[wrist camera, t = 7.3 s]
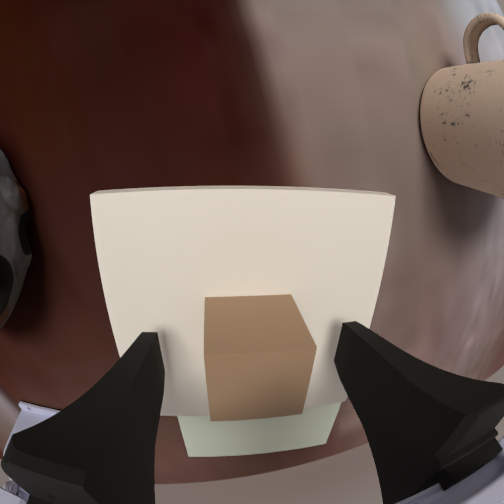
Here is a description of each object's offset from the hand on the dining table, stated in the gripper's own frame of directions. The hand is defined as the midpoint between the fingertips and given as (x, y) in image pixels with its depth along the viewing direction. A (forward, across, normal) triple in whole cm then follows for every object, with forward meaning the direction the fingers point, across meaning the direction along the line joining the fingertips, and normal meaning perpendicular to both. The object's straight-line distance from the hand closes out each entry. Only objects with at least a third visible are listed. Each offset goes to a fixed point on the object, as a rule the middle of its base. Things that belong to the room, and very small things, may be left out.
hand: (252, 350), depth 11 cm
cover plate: (+2, 0, 0) cm, 2 cm away
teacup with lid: (+7, -15, -12) cm, 20 cm away
